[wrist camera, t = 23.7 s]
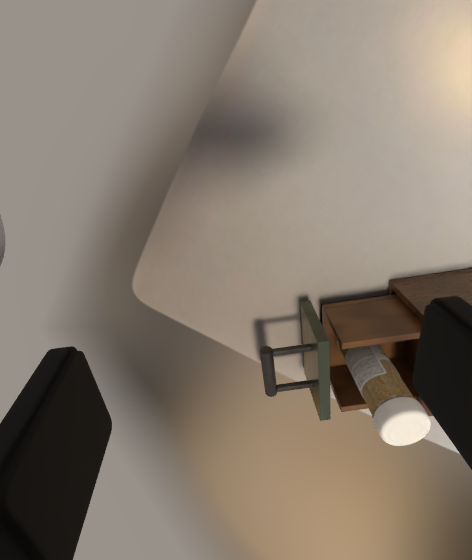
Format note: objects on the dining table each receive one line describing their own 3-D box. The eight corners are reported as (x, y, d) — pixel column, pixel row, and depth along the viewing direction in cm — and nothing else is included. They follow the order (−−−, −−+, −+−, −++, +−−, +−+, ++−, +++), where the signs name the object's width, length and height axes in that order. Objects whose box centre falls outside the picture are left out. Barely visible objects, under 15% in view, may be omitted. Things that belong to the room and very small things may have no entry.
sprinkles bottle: (376, 341, 42) (439, 435, 30) (343, 357, 43) (391, 454, 31) (363, 316, 40) (424, 406, 28) (328, 333, 41) (373, 427, 29)
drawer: (262, 378, 46) (270, 427, 39) (252, 308, 40) (260, 351, 33) (404, 358, 45) (438, 404, 38) (413, 284, 40) (454, 323, 33)
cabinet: (382, 360, 46) (419, 417, 38) (389, 280, 40) (434, 327, 32) (489, 344, 46) (550, 399, 38) (511, 262, 40) (590, 304, 32)
